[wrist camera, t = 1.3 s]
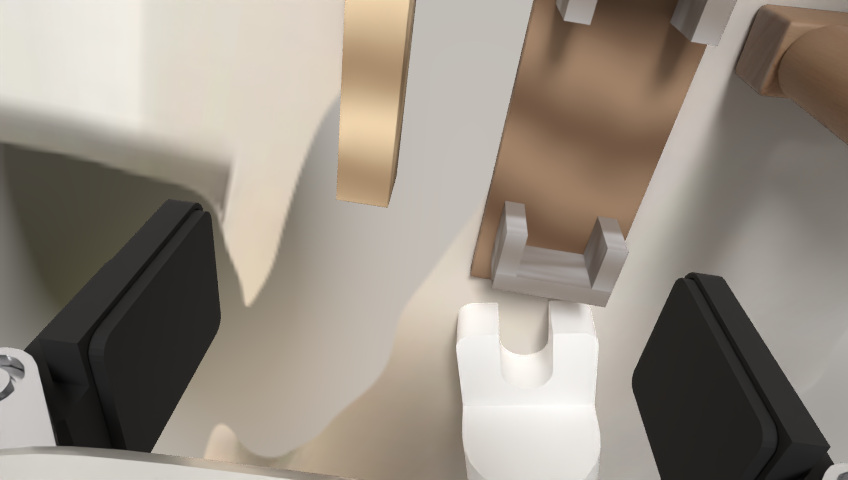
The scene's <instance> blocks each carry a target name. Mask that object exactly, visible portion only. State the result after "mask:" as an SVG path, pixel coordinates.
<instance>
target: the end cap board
mask: <svg viewBox="0 0 848 480" xmlns="http://www.w3.org/2000/svg"><path fill="white" fill-rule="evenodd" d="M736 2H737V0H534V1H533V5H532V10H531V13H530V18H529V22H528V26H527V31H526V35H525V39H524V43H523V48H522V52H521V56H520V61H519V65H518V69H517V74H516V78H515V83H514V86H513V90H512V95H511V99H510V103H509V107H508V112H507V116H506V120H505V124H504V129H503V133H502V137H501V142H500V146H499V150H498V154H497V159H496V163H495V167H494V171H493V176H492V180H491V184H490V189H489V193H488V197H487V201H486V206H485V210H484V214H483V218H482V223H481V227H480V231H479V236H478V240H477V244H476V248H475V253H474V257H473V261H472V265H471V276H474V277H480V278H486V279H492V289H497V290H503V291H509V292H515V293H522V294H528V295H534V296H540V297H546V298H552V299H558V300H564V301H570V302H576V303H583V304H589V305H595V306H601V307H606V304H607V302H608V300H609V297H610V295H611V293H612V290H613V288H614V286H615V283H616V281H617V279H618V276H619V274H620V272H621V269H622V267H623V265H624V262H625V260H626V258H627V255H628V253H629V251H628V248H627V246H626V243H625V240H626V237H627V235H628V233H629V230H630V228H631V225H632V223H633V221H634V218H635V216H636V213H637V211H638V209H639V206H640V204H641V201H642V199H643V197H644V194H645V192H646V190H647V187H648V185H649V182H650V180H651V178H652V175H653V173H654V170H655V168H656V166H657V163H658V161H659V158H660V156H661V154H662V151H663V149H664V146H665V144H666V142H667V139H668V137H669V135H670V132H671V130H672V127H673V125H674V123H675V120H676V118H677V115H678V113H679V111H680V108H681V106H682V103H683V101H684V99H685V96H686V94H687V92H688V89H689V87H690V84H691V82H692V80H693V77H694V75H695V72H696V70H697V68H698V65H699V63H700V60H701V58H702V56H703V53H704V51H705V49H706V46H707V44H708V45H714V46H718V43H719V41H720V39H721V36H722V34H723V32H724V29H725V27H726V25H727V22H728V20H729V18H730V16H731V13H732V11H733V9H734V6H735V4H736Z"/></svg>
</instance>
